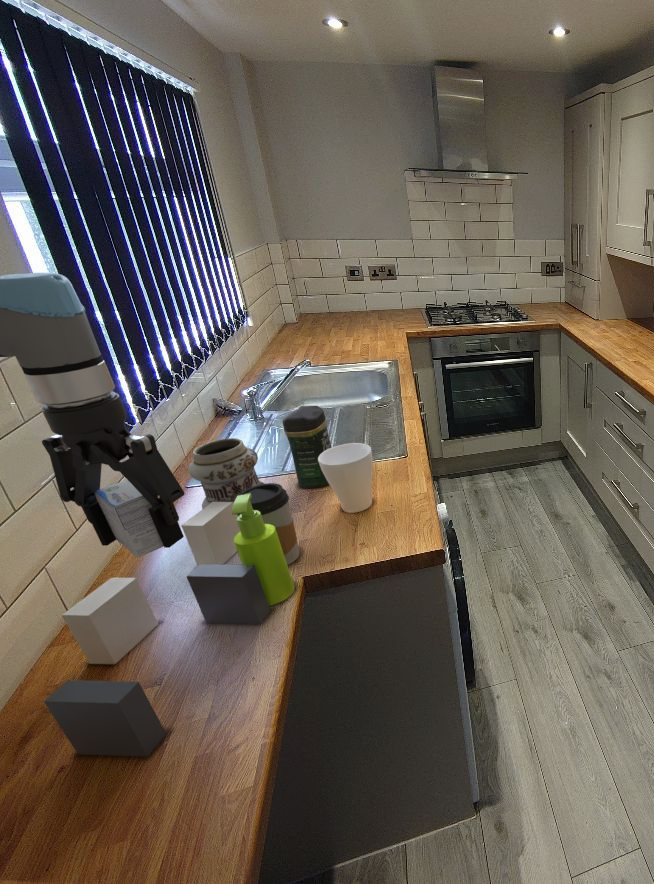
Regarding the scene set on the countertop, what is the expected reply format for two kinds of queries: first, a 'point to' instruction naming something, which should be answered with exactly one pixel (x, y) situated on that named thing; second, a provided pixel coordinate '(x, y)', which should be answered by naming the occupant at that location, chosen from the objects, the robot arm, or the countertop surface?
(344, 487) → the cup
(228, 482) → the apothecary jar
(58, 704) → the grey block near
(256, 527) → the soap dispenser
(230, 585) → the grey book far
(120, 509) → the medicine box
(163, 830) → the countertop surface
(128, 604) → the white rectangular block
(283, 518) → the coffee cup
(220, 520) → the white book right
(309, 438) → the coffee jar
